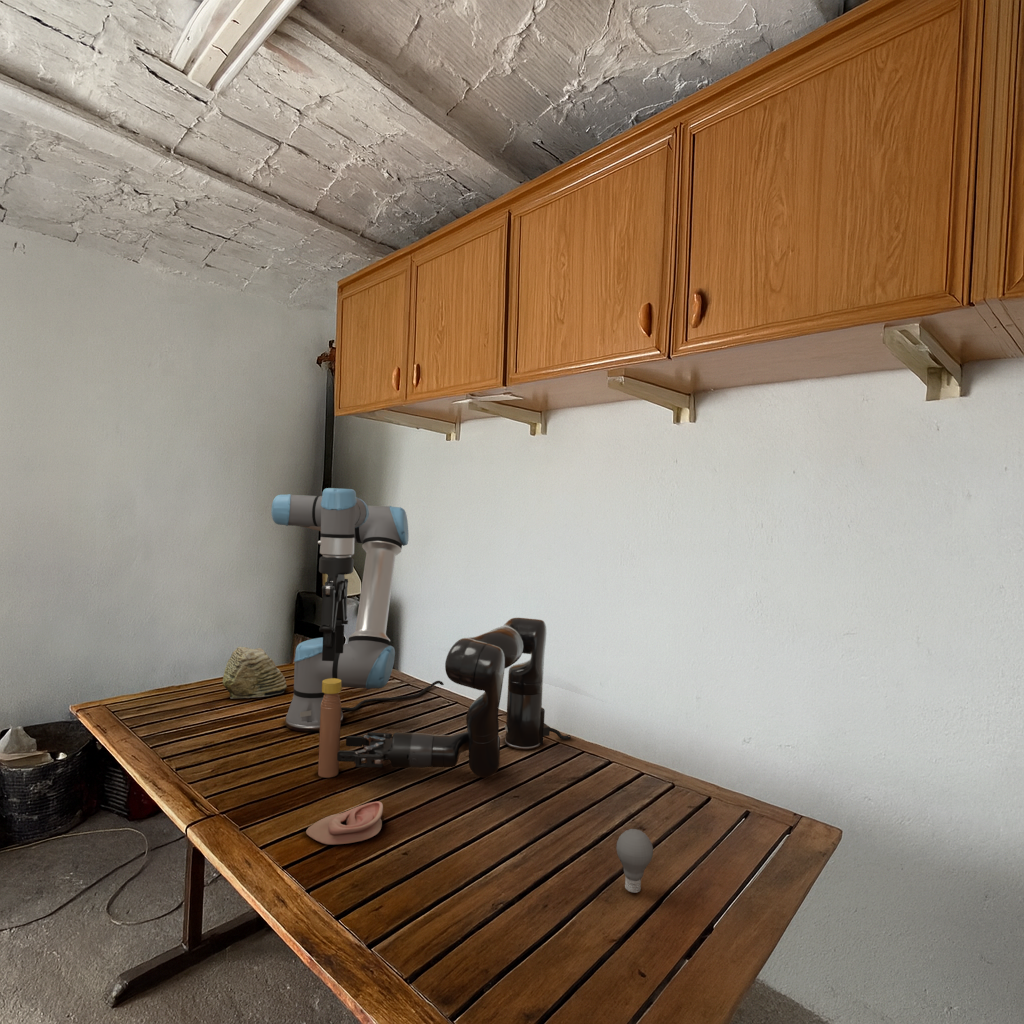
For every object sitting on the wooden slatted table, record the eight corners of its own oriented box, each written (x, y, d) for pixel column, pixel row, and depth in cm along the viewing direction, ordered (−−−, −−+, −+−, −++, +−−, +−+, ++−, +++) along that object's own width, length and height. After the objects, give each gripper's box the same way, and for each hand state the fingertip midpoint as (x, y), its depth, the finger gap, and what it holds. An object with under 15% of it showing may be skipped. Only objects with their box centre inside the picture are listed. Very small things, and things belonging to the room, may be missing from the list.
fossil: (218, 695, 195) (220, 647, 195) (278, 685, 208) (279, 640, 207) (228, 703, 189) (230, 653, 188) (289, 692, 201) (290, 645, 201)
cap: (345, 690, 145) (345, 680, 145) (330, 695, 142) (330, 684, 142) (332, 687, 148) (332, 677, 148) (317, 691, 144) (318, 681, 144)
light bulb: (610, 879, 108) (613, 822, 108) (644, 879, 109) (647, 822, 109) (619, 902, 102) (622, 840, 102) (655, 901, 103) (658, 840, 103)
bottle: (342, 772, 146) (346, 682, 145) (327, 779, 142) (330, 686, 142) (329, 767, 148) (332, 678, 148) (313, 774, 144) (317, 682, 144)
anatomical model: (298, 818, 116) (328, 791, 128) (297, 839, 116) (327, 810, 128) (365, 829, 114) (390, 800, 125) (364, 851, 114) (389, 820, 125)
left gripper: (331, 551, 154) (328, 646, 154) (307, 559, 134) (303, 667, 135) (362, 553, 154) (358, 647, 154) (342, 560, 134) (338, 668, 135)
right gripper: (417, 723, 153) (349, 721, 152) (410, 746, 138) (335, 744, 138) (415, 753, 153) (348, 752, 152) (408, 780, 138) (333, 778, 138)
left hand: (332, 656), depth 145 cm, fingers open, 6 cm apart
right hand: (342, 748), depth 145 cm, fingers open, 8 cm apart
